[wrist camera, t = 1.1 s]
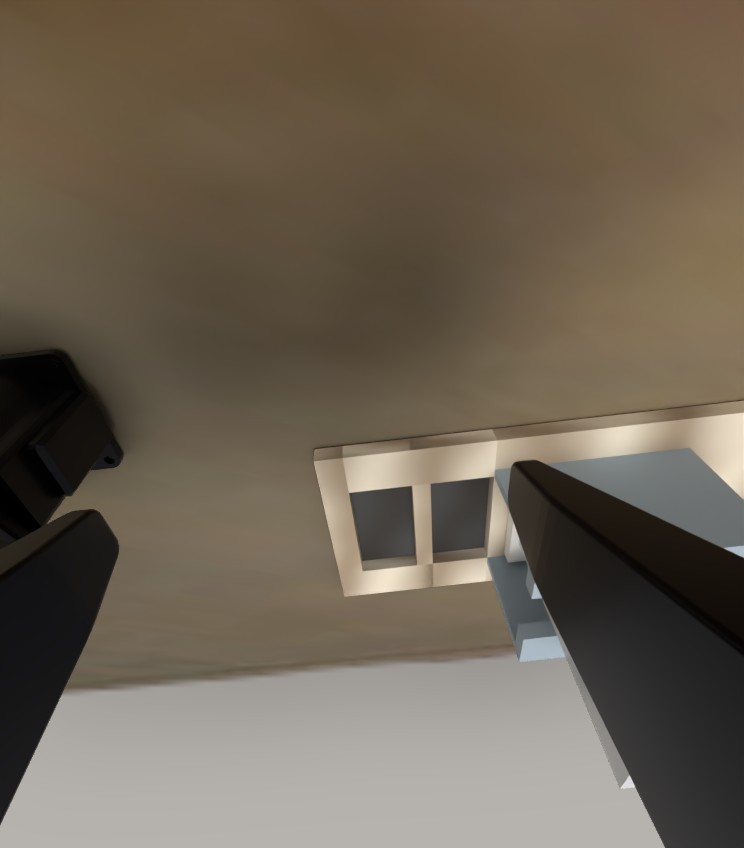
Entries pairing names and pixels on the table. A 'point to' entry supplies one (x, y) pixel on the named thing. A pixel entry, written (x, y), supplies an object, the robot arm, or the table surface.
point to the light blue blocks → (639, 486)
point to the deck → (482, 488)
